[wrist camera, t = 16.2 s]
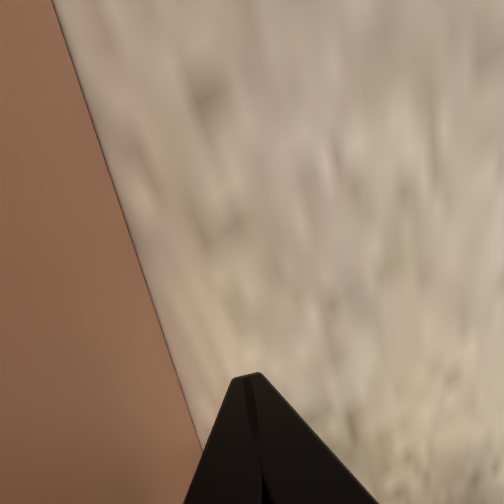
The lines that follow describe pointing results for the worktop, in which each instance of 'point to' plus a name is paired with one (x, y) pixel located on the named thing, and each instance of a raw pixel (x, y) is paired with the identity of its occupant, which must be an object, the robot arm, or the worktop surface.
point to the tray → (74, 301)
